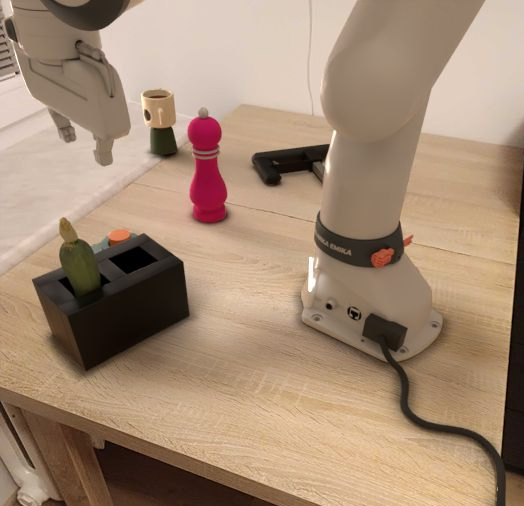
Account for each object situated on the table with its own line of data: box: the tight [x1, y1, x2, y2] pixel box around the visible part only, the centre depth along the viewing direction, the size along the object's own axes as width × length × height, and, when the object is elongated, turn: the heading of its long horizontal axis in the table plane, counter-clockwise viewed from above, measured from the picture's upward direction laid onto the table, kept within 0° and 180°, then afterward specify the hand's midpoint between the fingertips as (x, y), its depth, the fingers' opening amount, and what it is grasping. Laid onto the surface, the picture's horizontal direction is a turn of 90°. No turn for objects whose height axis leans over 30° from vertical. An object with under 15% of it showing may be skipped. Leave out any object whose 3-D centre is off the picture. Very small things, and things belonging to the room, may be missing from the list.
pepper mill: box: [186, 107, 228, 223], centre depth 91 cm, size 7×7×20 cm
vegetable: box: [58, 216, 101, 298], centre depth 66 cm, size 4×4×20 cm
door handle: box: [251, 143, 330, 185], centre depth 111 cm, size 3×20×16 cm
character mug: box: [140, 88, 178, 156], centre depth 114 cm, size 11×7×13 cm, turn 15°
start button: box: [107, 228, 131, 246], centre depth 83 cm, size 4×4×2 cm
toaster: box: [31, 232, 190, 372], centre depth 71 cm, size 10×18×10 cm, turn 133°
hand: (86, 151), depth 67 cm, fingers open, 8 cm apart
